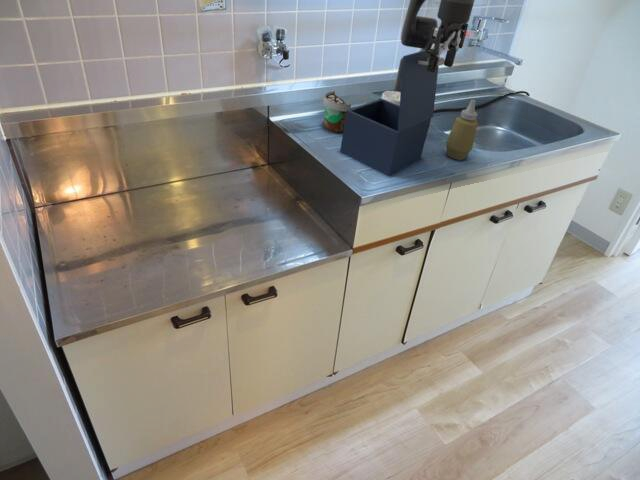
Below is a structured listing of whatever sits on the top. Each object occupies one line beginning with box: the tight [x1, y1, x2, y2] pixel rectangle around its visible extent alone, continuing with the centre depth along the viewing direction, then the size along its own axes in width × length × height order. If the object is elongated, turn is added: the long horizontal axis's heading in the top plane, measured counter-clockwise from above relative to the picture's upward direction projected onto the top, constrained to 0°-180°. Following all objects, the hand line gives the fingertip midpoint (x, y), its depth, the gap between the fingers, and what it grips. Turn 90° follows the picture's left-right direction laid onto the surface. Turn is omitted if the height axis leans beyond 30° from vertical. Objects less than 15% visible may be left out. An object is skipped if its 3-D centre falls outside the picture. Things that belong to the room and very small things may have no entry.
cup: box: [380, 90, 401, 106], centre depth 154 cm, size 9×9×12 cm
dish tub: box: [339, 98, 432, 176], centre depth 138 cm, size 18×17×13 cm
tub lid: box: [398, 48, 445, 132], centre depth 123 cm, size 19×17×5 cm
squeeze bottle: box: [445, 99, 479, 161], centre depth 142 cm, size 8×8×18 cm
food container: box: [322, 90, 352, 134], centre depth 151 cm, size 12×6×10 cm, turn 25°
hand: (439, 68), depth 119 cm, fingers open, 8 cm apart
